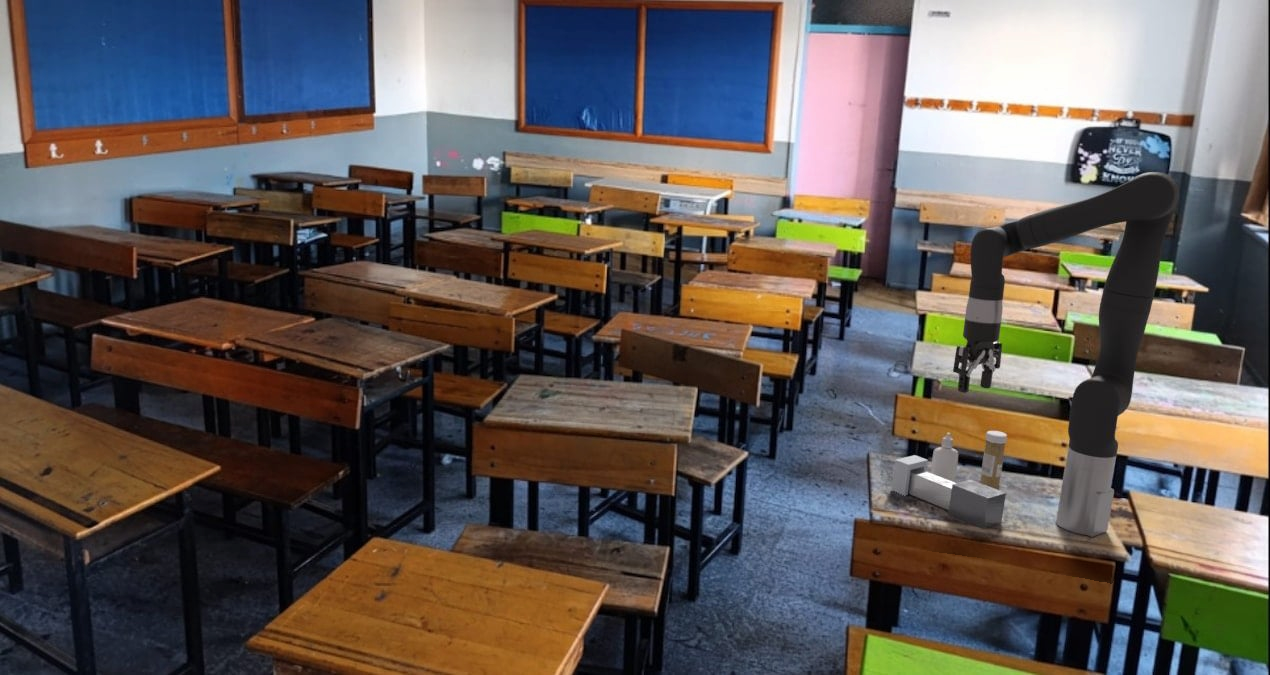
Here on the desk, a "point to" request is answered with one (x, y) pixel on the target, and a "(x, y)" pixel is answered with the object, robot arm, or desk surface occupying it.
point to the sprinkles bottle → (993, 459)
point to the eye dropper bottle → (945, 460)
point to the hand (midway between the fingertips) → (974, 389)
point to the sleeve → (977, 503)
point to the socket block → (906, 472)
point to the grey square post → (930, 488)
